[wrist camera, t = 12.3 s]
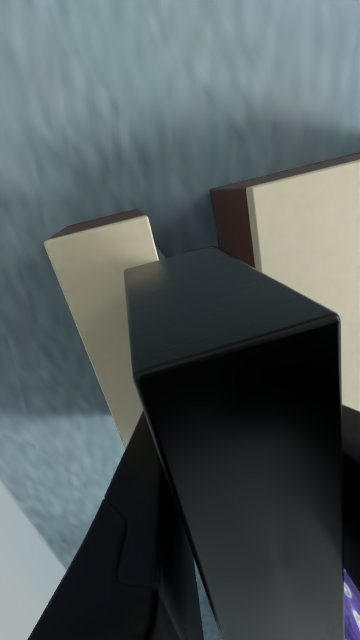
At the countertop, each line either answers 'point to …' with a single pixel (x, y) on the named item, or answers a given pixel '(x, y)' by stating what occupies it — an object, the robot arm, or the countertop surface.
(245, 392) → the black handle
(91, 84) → the countertop surface
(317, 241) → the cake loaf
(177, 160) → the countertop surface
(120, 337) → the cream-topped brown block
